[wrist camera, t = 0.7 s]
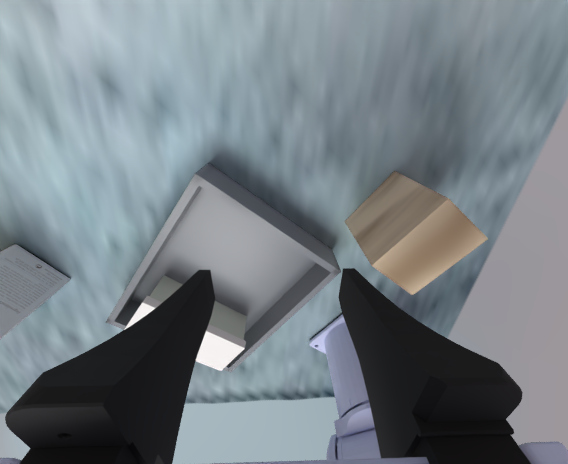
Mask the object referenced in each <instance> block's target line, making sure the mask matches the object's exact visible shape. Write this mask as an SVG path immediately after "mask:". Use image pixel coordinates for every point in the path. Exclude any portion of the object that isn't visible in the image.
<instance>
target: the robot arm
mask: <svg viewBox="0 0 568 464" xmlns="http://www.w3.org/2000/svg"><path fill="white" fill-rule="evenodd" d="M339 301H340V305H341V310H342V315H341V316H340V317H338V318H337V319H336V320H335V321H333V322H332V323H331V324H330V325H329V326H327V327H326V328H325V329H324V330H322V331H321V332H320V333H319V334H318V335H316V336H315V337H314V338H313V339H311V340H310V341H309V345H310V346H311V347H313V348H315V349H317V350H319V351H321V352H323V353H325V354H326V355H327V360H328V365H329V370H330V375H331V380H332V384H333V389H334V394H335V398H336V404H337V409H338V414H339V420H336V421H335V422H334V423H335V429H336V434H335V435H333V436H331V438H330V442H329V446H328V449H327V460H314V461H312V460H311V461H279V462H246V463H214V464H568V450H567V449H566V447H565V446H564V445H563V444H562V443H560V442H531V443H525V444H521V445H519V446H518V445H517V443H516V442H515V441H514V439H513V438H512V436H511V435H512V434H513V433H514V431H513V429H512V427H511V426H510V425H509V423H508V422H507V421H506V418H507V417H508V416H509V415H510V414H511V413H512V412H513V411H514V409H515V408H516V407H517V406H518V405H519V403H520V402H521V399H522V391H521V389H520V387H519V386H518V385H517V384H516V383H515V381H514V380H513V379H512V378H511V377H510V376H509V375H508V374H507V372H506V371H505V370H504V369H503V368H502V367H501V366H500V365H499V364H498V363H496V362H494V361H492V360H490V359H488V358H486V357H483V356H481V355H479V354H477V353H475V352H472V351H470V350H468V349H466V348H464V347H462V346H460V345H458V344H456V343H454V342H452V341H451V340H449V339H447V338H445V337H443V336H442V335H440V334H438V333H436V332H435V331H433V330H431V329H430V328H428V327H426V326H425V325H423V324H422V323H420V322H418V321H417V320H415V319H414V318H413V317H411V316H410V315H408V314H407V313H405V312H404V311H403V310H401V309H400V308H399V307H397V306H396V305H395V304H394V303H392V302H391V301H390V300H389V299H387V298H386V297H385V296H384V295H383V294H381V293H380V292H379V291H378V290H377V289H376V288H375V287H374V286H373V285H371V284H370V283H369V282H368V281H367V280H366V279H365V278H364V277H363V276H362V275H361V274H360V273H359V272H358V271H357V270H355V269H343V273H342V280H341V286H340V292H339ZM214 302H215V294H214V288H213V282H212V276H211V271H210V270H198V271H197V272H196V273H195V274H194V275H193V276H192V277H191V278H189V279H188V280H187V281H186V282H185V283H184V284H183V285H182V286H181V287H180V288H179V289H178V290H177V291H175V292H174V293H173V294H172V295H171V296H170V297H169V298H167V299H166V300H165V301H164V302H163V303H161V304H160V305H159V306H158V307H156V308H155V309H154V310H153V311H151V312H150V313H149V314H147V315H146V316H145V317H143V318H142V319H140V320H139V321H137V322H136V323H134V324H133V325H131V326H130V327H128V328H127V329H125V330H123V331H122V332H120V333H119V334H117V335H115V336H114V337H112V338H111V339H109V340H107V341H105V342H104V343H102V344H100V345H98V346H96V347H94V348H93V349H91V350H89V351H87V352H85V353H83V354H81V355H79V356H77V357H75V358H73V359H71V360H69V361H67V362H65V363H63V364H61V365H58V366H56V367H54V368H52V369H50V370H48V371H46V372H43V373H42V374H41V375H40V377H39V378H38V379H37V380H36V381H35V382H34V383H33V384H32V385H31V387H30V388H29V389H28V390H27V391H26V392H25V393H24V394H23V395H22V397H21V398H20V399H19V400H18V401H17V402H16V403H15V404H14V405H13V407H12V408H11V409H10V410H9V411H8V412H7V414H6V417H5V420H6V424H7V426H8V428H9V429H10V430H11V431H12V432H13V433H14V434H15V435H16V436H17V437H19V438H20V439H21V440H22V441H23V442H24V443H25V444H27V445H28V446H29V447H30V448H31V449H30V450H29V452H28V453H27V454H26V456H25V457H24V458H23V460H22V461H21V460H18V459H15V458H0V464H172V461H173V456H174V451H175V446H176V441H177V436H178V431H179V427H180V422H181V418H182V413H183V408H184V404H185V400H186V396H187V391H188V387H189V383H190V379H191V375H192V371H193V368H194V364H195V361H196V358H197V355H198V352H199V349H200V346H201V344H202V341H203V338H204V335H205V333H206V330H207V327H208V324H209V321H210V319H211V316H212V311H213V307H214Z"/></svg>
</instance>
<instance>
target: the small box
mask: <svg viewBox="0 0 568 464" xmlns="http://www.w3.org/2000/svg"><path fill="white" fill-rule="evenodd" d="M69 281H70V278H68V277H67V276H65V275H64V274H62V273H60V272H59V271H57V270H56V269H54V268H53V267H51V266H49V265H48V264H46V263H45V262H43V261H42V260H40V259H39V258H37V257H36V256H34V255H32V254H31V253H29V252H28V251H26V250H25V249H23V248H21V247H20V246H18V245H16V244H14V245H12V246H10V247H8V248H6V249H4V250H3V251H1V252H0V339H1V338H2V337H4V336H5V335H6V334H7V333H8V332H10V331H11V330H12V329H13V328H14V327H16V326H17V325H18V324H19V323H20V322H22V321H23V320H24V319H25V318H26V317H27V316H29V315H30V314H31V313H32V312H33V311H35V310H36V309H37V308H38V307H39V306H41V305H42V304H43V303H44V302H45V301H47V300H48V299H49V298H50V297H51V296H52V295H54V294H55V293H56V292H57V291H58V290H59V289H61V288H62V287H63V286H64V285H65V284H66V283H68V282H69Z"/></svg>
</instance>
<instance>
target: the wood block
mask: <svg viewBox="0 0 568 464" xmlns="http://www.w3.org/2000/svg"><path fill="white" fill-rule="evenodd" d="M345 223H346V225H347V226H348V228H349V230H350V231H351V233H352V234H353V236H354V238H355V239H356V241H357V243H358V244H359V246H360V248H361V249H362V251H363V252H364V254H365V256H366V257H367V259H368V261H369V262H370V264H371V266H373V267H374V268H376V269H377V270H378V271H380V272H381V273H382V274H384V275H385V276H386V277H388V278H389V279H391V280H392V281H393V282H395V283H396V284H397V285H399V286H400V287H402V288H403V289H404V290H406V291H407V292H408V293H410V294H411V295H414V294H415V293H416V292H418V291H419V290H420V289H422V288H423V287H425V286H426V285H427V284H429V283H430V282H431V281H433V280H434V279H435V278H437V277H438V276H439V275H441V274H442V273H443V272H445V271H446V270H447V269H449V268H450V267H451V266H453V265H454V264H455V263H457V262H458V261H459V260H461V259H462V258H463V257H465V256H466V255H467V254H469V253H470V252H471V251H473V250H474V249H475V248H477V247H478V246H479V245H481V244H482V243H484V242H485V241H486V240H488V238H487V237H486V236H485V235H484V234H483V233H482V232H481V231H480V230H479V229H478V228H477V227H476V226H475V225H474V224H473V223H472V222H471V221H470V220H469V219H468V218H467V217H466V216H465V215H464V214H463V213H462V212H461V211H460V210H459V209H458V208H457V207H456V206H455V205H454V204H453V202H452V201H451V200H450V199H449V198H447V197H445V196H443V195H441V194H439V193H437V192H435V191H433V190H431V189H429V188H427V187H425V186H423V185H421V184H419V183H417V182H415V181H413V180H411V179H410V178H408V177H406V176H404V175H402V174H400V173H398V172H396V171H394V172H393V173H392V174H391V175H390V176H389V177H388V178H387V179H386V180H385V181H384V182H383V183H382V184H381V185H380V186H379V187H378V188H377V189H376V190H375V191H374V192H373V193H372V194H371V195H370V196H369V197H368V198H367V199H366V200H365V201H364V202H363V203H362V204H361V205H360V206H359V207H358V208H357V209H356V210H355V212H354V213H353V214H352V215H351V216H350V217H349V218H348V219H347V220H346V221H345Z"/></svg>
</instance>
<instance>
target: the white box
mask: <svg viewBox="0 0 568 464" xmlns="http://www.w3.org/2000/svg"><path fill="white" fill-rule="evenodd" d="M182 285H183V284H181V283H179V282H177V281H175V280H173V279H171V278H169V277H167V276H165V275H164V276H163V277H162V279H161V280H160V282H159V283H158V285H157V286H156V288H155V289H154V290H153V292H152V293H151V295H150V296H146V298H145V299H144V301H143V302H142V304H141V305H140V307H139V308H138V310H137V311H136V313H135V314H134V316H133V317H132V319H131V320H130V322H129V323H128V325H127V326H126V328H125V329H127V328H128V327H130V326H131V325H133V324H134V323H136V322H137V321H139V320H140V319H142V318H143V317H145V316H146V315H147V314H149V313H150V312H151V311H153V310H154V309H155V308H156V307H158V306H159V305H160V304H161V303H163V302H164V301H165V300H166V299H167V298H169V297H170V296H171V295H172V294H173V293H174V292H175V291H177V290H178V289H179V288H180V287H181V286H182ZM246 319H247V316H245V315H243V314H241V313H239V312H237V311H235V310H233V309H231V308H229V307H227V306H225V305H223V304H221V303H219V302H217V301H215V302H214V307H213V311H212V316H211V319H210V321H209V324H208V327H207V330H206V333H205V335H204V338H203V341H202V344H201V346H200V349H199V352H198V355H197V358H196V361H197V362H199V363H202V364H204V365H207V366H210V367H212V368H215V369H217V370H220V371H222V370H223V369H224V368H225V367H226V366H227V365H228V364H229V363H230V362H231V361H232V360H233V359H234V358H235V357H236V356H237V355H238V354H240V353H241V352H242V351H243V350H244V349H245V345H246V341H245V340H244V333H245V326H246ZM125 329H124V330H125Z"/></svg>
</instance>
